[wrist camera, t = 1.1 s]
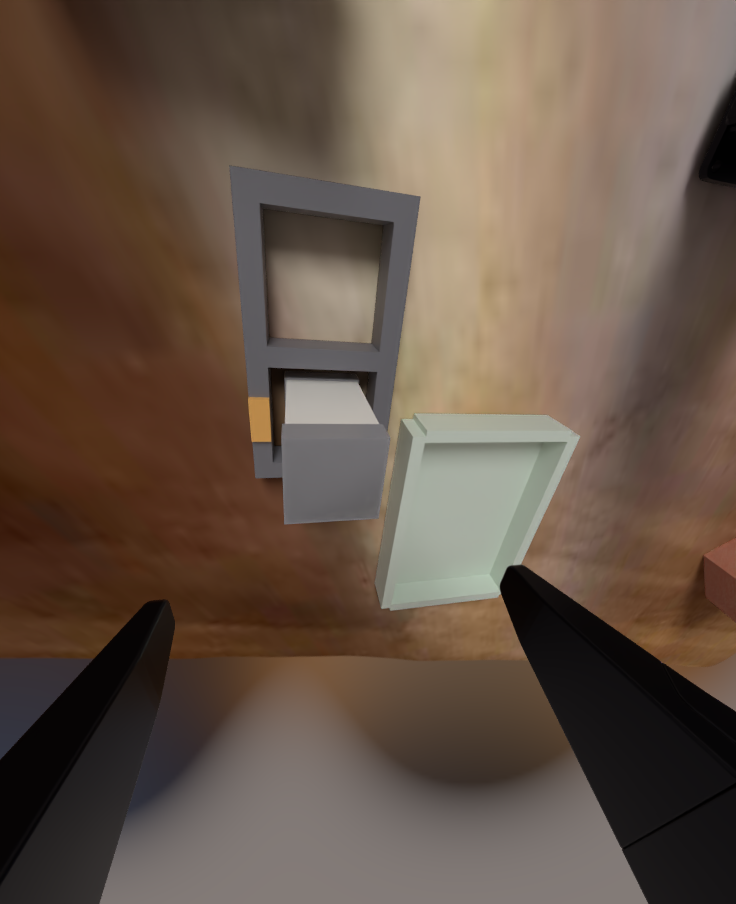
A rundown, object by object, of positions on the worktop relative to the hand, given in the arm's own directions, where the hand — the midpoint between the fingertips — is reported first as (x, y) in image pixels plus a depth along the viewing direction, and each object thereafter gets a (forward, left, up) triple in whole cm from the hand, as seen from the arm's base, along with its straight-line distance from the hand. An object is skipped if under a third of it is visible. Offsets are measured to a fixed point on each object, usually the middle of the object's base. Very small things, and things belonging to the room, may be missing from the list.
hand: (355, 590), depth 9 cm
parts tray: (-11, +9, -13) cm, 19 cm away
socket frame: (0, -3, -13) cm, 13 cm away
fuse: (0, 0, -13) cm, 13 cm away
